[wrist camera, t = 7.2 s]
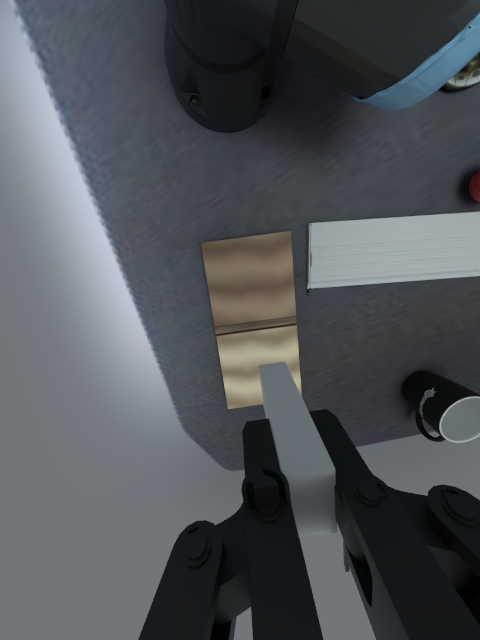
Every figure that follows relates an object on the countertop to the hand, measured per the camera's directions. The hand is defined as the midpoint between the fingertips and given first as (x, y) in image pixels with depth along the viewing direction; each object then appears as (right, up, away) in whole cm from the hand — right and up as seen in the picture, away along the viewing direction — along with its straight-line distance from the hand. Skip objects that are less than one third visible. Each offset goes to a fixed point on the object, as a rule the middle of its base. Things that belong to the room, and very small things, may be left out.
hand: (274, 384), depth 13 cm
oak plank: (+2, -5, +31) cm, 31 cm away
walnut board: (0, +10, +27) cm, 29 cm away
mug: (+34, -11, +35) cm, 50 cm away
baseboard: (+25, +15, +28) cm, 40 cm away
